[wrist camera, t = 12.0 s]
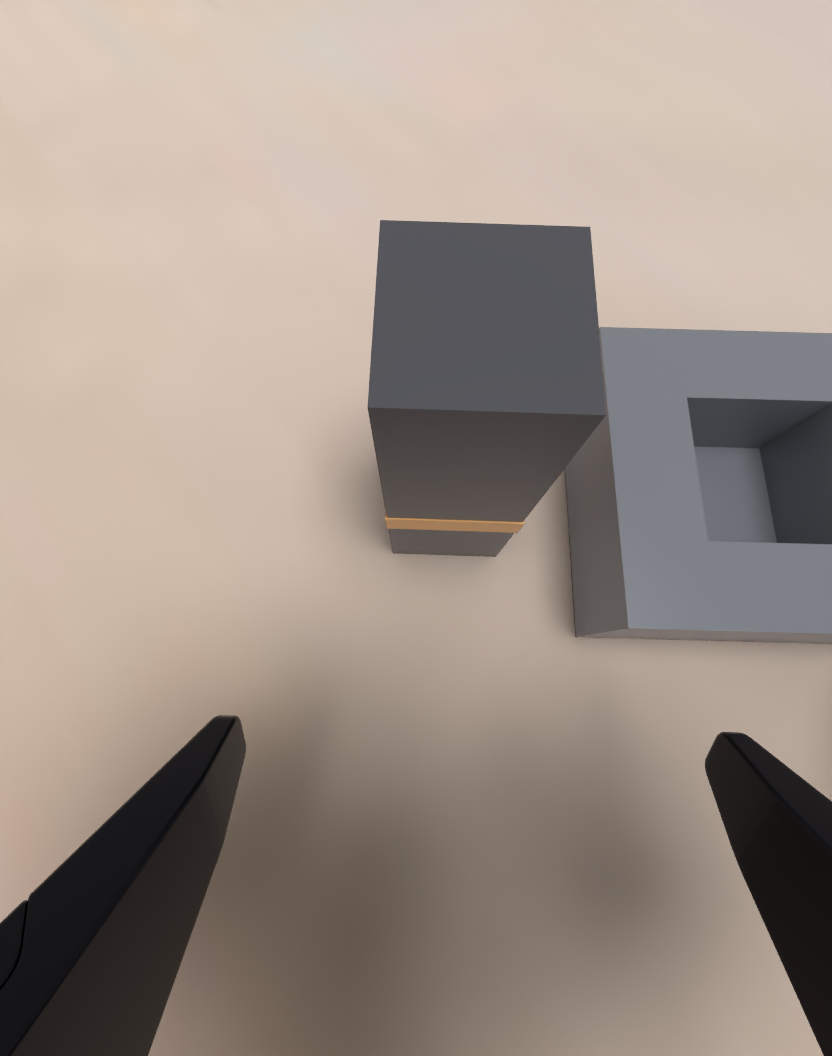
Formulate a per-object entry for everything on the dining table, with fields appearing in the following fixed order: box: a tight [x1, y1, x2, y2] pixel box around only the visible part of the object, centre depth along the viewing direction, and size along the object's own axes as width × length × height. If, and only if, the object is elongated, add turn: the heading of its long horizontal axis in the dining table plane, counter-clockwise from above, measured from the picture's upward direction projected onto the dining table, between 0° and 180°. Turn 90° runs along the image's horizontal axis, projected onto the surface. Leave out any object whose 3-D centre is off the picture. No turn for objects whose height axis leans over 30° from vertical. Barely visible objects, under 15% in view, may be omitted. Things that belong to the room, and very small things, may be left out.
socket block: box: [565, 327, 832, 644], centre depth 17 cm, size 10×10×4 cm
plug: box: [368, 220, 606, 557], centre depth 14 cm, size 4×4×11 cm
